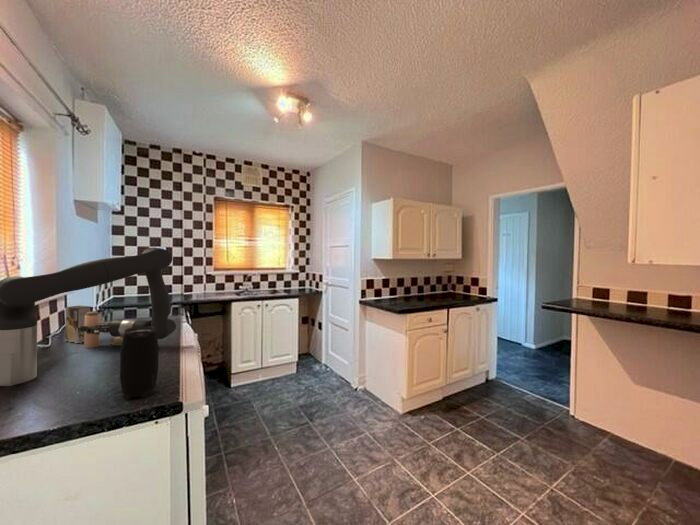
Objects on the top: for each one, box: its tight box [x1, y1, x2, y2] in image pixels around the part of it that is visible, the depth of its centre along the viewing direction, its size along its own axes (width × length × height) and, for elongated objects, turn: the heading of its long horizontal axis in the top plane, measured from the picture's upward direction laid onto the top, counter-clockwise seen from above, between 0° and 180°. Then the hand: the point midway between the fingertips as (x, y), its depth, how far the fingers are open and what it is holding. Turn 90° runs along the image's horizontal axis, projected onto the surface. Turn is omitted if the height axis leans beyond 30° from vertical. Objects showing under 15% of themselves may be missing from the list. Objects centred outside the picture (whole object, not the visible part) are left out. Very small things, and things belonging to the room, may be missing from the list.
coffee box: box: [64, 305, 94, 344], centre depth 142 cm, size 9×6×16 cm
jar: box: [83, 310, 101, 349], centre depth 135 cm, size 5×5×15 cm
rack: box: [110, 337, 123, 346], centre depth 145 cm, size 12×10×2 cm
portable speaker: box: [119, 326, 160, 401], centre depth 91 cm, size 9×9×20 cm
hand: (86, 327), depth 135 cm, fingers closed on jar, 5 cm apart
